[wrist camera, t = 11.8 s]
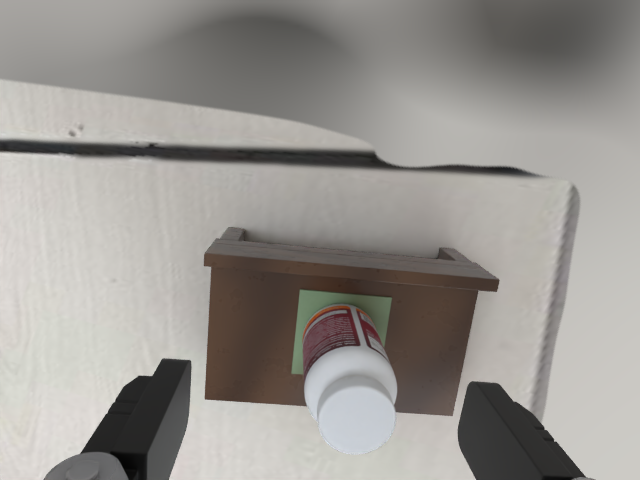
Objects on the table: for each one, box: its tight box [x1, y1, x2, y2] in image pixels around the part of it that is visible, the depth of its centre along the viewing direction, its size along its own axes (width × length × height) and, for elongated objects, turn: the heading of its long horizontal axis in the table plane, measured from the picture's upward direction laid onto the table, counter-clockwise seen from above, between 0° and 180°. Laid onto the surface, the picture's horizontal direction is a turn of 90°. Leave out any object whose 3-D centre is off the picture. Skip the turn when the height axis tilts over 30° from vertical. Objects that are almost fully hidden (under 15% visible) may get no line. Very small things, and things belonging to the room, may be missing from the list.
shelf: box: [204, 227, 499, 416], centre depth 37 cm, size 22×14×9 cm, turn 84°
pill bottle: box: [302, 304, 397, 454], centre depth 30 cm, size 6×6×11 cm
